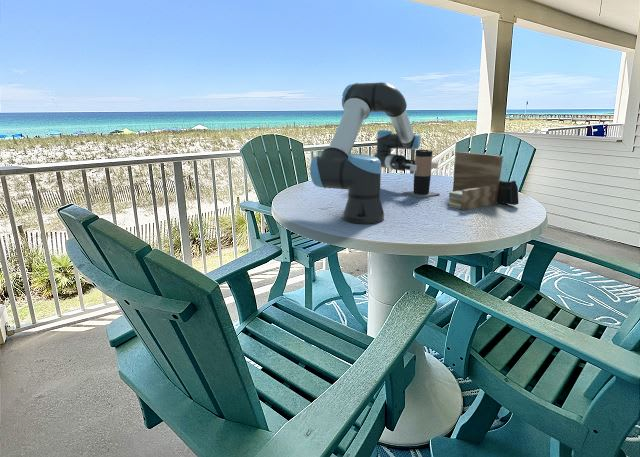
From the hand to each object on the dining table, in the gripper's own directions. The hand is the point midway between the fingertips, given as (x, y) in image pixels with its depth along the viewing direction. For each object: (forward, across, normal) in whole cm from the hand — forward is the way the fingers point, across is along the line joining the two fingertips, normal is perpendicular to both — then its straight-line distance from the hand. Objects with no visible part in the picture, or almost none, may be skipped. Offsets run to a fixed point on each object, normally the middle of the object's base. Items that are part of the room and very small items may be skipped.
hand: (426, 167), depth 170 cm
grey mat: (-2, 0, -13) cm, 13 cm away
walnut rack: (+18, -2, -13) cm, 22 cm away
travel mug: (-2, 0, -13) cm, 13 cm away
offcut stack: (+23, -1, -14) cm, 26 cm away
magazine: (+22, -18, -14) cm, 32 cm away
